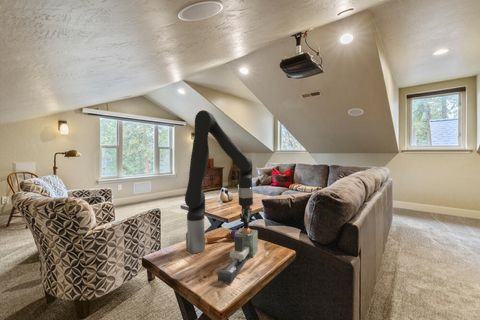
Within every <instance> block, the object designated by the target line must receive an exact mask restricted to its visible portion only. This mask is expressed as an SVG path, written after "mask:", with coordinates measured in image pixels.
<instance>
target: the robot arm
mask: <svg viewBox="0 0 480 320" xmlns="http://www.w3.org/2000/svg"><path fill="white" fill-rule="evenodd" d="M209 134H210V135H212V137H214V139H215V141H216V142H217V143H218V145H219V147H220V148H221V149H222V150H223V151H224V153H225V154H226V155H227V156H228V158H230V159H231V161H232V162H233V163H234V165H235V166H236V168H237V169H238V170H239V178H238V192H237V193H238V205H239V206H241V209H240V212H241V213H239V217H240V220H241V222H243V228H244V229H248V228H250V227H249V224H250V223H249V221H250V219H251V215H252V210H253V209H252V207H251V206H253V204H254V194H253V193H254V191H253V178H252V177H253V161H252V159H250V158H249V157H247V156H246V155H244V153H243V152H242V149H240V147H239V146H238V145H237V144H236V143H235V142H234V140H233V139H231V137H230V136H229V135H228V134H227V133H226V132H225V131H224V129H223V128H222V127H221V126H220V124H219V122H218V121H217V119H216V118H215V116H214V114H212V113H211V112H209V111H207V110H205V109H203V110H202V109H201V110H199V111H198V112H197V113H196V115H195V117H194V135H193V143H192V150H191V155H190V162H189V163H190V164H189V173H188V182H187V186H186V190H185V191H186V192H185V194H184V202H185V204H186V207H188V211H187V214H186V223H187V224H186V225H187V226H186V229H187V230H186V233H185V249H186V251H188V252H189V253H190V254H199V253H201V252H204V251H205V250H206V237H205V235H206V233H205V232H206V231H205V229H206V228H205V215H206V213H205V212H206V194H205V192H204V191H203V190H202V189H203V188H202V187H203V186H202V185H203V181H204V178H205V176H206V172H207V170H208V165H209V158H210V149H209V143H208V142H209V140H208V139H209Z"/></svg>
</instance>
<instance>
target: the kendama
mask: <svg viewBox="0 0 480 320" xmlns="http://www.w3.org/2000/svg"><path fill="white" fill-rule="evenodd" d="M238 230H239V229H233V230H231V231H230V232H228V233H227V234H225V235H223V236H215V237H214V236H213V237H207V238H206V240H207V241H206V242H207V244H212V243H216V242H217V241H220V240H223V239H227V240H233V241H234V236H235V233H236V232H237V231H238Z"/></svg>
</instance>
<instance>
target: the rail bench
mask: <svg viewBox="0 0 480 320" xmlns="http://www.w3.org/2000/svg"><path fill="white" fill-rule="evenodd" d="M243 228H244V227H242V228H241V227H239V229H237V230H238V231H237V232H236V233H235V235H236V234H240V235H244V247H249V253H248V254H247V256H246V257H245V259H244V260H242V261H241V262H239V259H236V258H235V260H234V261H233V258H231V261H230V262H229V263H228V264H227V265H226V266H225V268H224V269H218V270H217V281H219V282H223V283H226V284H232V283H233V282H234V280H235V278H237V276H238V275H239V273H240V271H241V270H242V268H243V267H244V266H245V264H246V263H247V261H248V260H249V258H254V257H255V255H257V252H258V243H259V242H258V241H259V239H258V230H257V229H251V228H250V234H243V233H242V229H243Z"/></svg>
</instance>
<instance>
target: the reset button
mask: <svg viewBox="0 0 480 320" xmlns="http://www.w3.org/2000/svg"><path fill="white" fill-rule="evenodd" d="M242 228H243V229H242V233H243V234H250V229H251V228H250V227H249V228H248V229H244V227H242Z"/></svg>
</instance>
